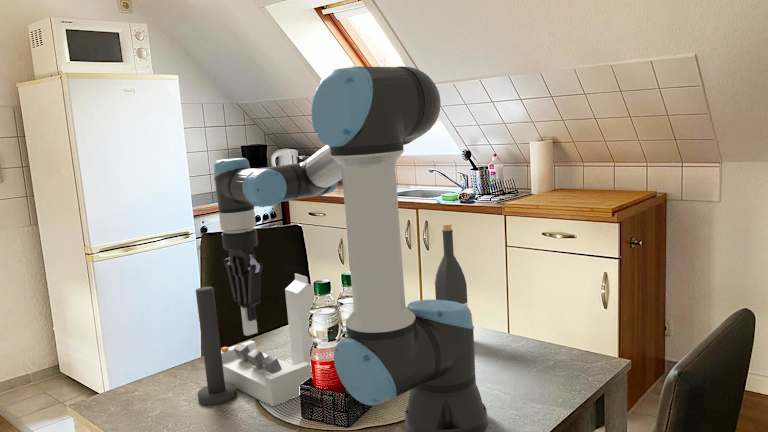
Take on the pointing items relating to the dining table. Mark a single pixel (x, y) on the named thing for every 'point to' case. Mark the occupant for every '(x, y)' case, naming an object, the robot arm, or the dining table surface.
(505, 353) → the dining table surface
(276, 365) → the paddle bank
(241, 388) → the strip
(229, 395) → the post
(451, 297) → the wine bottle
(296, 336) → the milk
